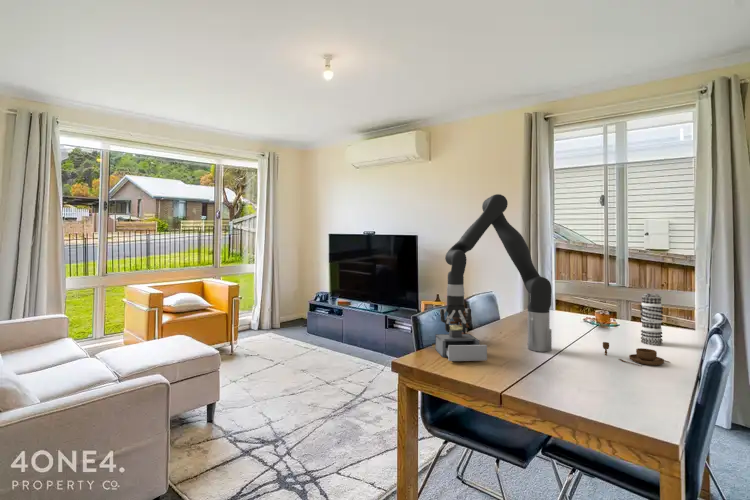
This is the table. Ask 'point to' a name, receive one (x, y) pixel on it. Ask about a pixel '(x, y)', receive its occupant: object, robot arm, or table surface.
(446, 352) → the grey drawer
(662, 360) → the place setting
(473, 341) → the grey drawer box
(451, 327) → the disc
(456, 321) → the brown tall lumpy piece
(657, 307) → the decorative candle
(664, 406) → the table surface
